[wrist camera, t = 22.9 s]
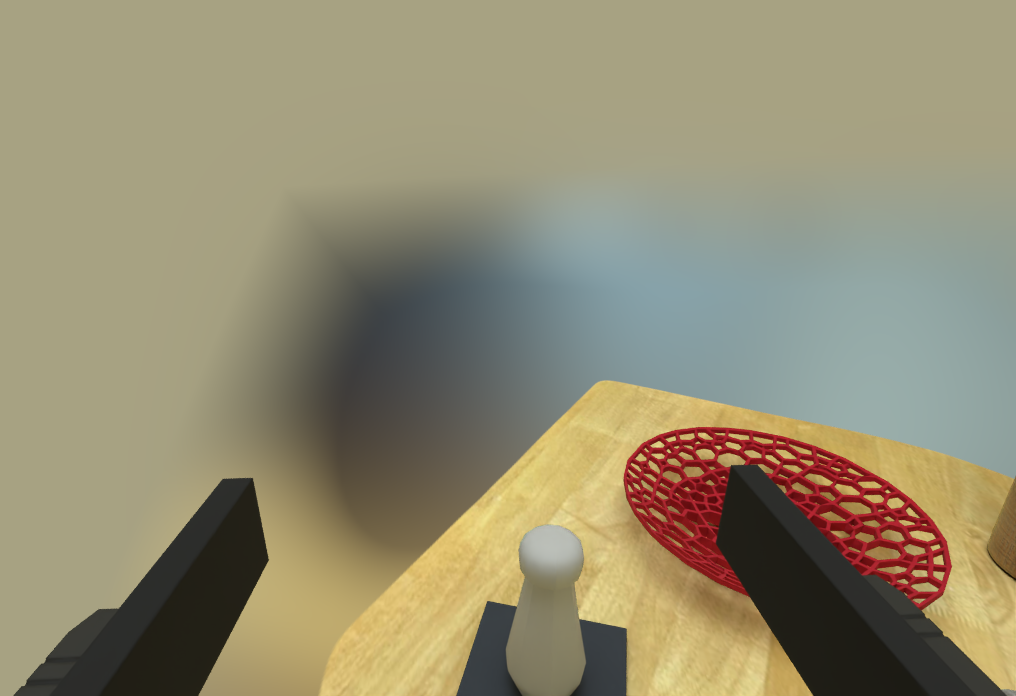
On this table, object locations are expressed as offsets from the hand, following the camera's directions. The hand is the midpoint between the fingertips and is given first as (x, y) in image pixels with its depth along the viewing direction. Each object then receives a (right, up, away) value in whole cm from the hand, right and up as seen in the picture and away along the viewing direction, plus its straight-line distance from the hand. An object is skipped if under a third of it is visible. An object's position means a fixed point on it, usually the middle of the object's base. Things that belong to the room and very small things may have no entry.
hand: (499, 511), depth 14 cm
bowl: (+27, -16, +40) cm, 50 cm away
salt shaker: (+3, -20, +23) cm, 31 cm away
